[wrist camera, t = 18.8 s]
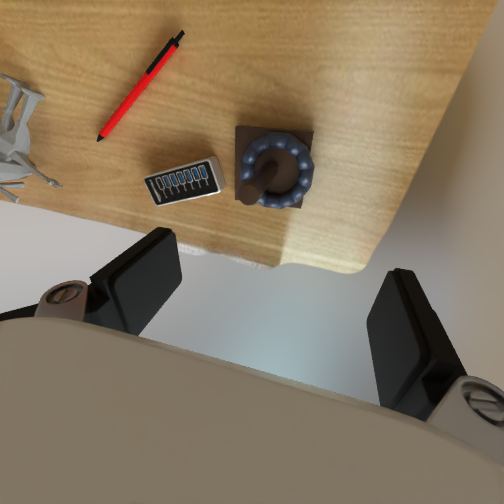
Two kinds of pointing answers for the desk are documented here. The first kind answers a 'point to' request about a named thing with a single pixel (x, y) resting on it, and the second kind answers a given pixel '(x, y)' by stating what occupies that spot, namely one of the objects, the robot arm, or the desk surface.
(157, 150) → the desk surface
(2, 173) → the figurine
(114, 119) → the pen
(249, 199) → the stand
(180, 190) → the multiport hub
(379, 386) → the robot arm
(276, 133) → the ring
